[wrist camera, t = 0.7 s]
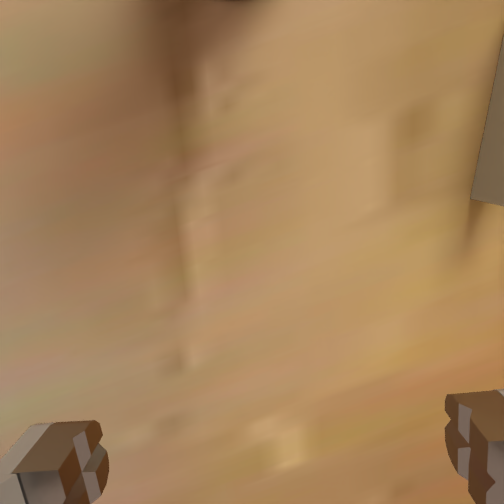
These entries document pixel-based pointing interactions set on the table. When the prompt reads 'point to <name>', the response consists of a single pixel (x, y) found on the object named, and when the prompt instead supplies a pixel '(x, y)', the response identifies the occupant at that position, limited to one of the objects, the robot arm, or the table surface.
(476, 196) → the grey boxy piece
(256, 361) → the table surface
